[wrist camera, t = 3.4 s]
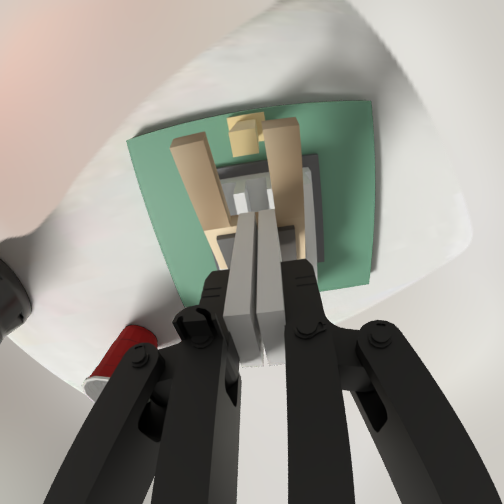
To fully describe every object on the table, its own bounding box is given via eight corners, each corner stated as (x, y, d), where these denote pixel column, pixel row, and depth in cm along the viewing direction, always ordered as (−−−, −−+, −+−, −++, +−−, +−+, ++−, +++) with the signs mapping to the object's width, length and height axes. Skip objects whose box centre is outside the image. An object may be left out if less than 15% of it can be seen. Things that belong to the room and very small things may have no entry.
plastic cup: (186, 356, 40) (173, 423, 30) (133, 359, 42) (113, 418, 31) (153, 307, 34) (126, 382, 24) (97, 315, 36) (66, 378, 26)
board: (186, 298, 33) (170, 358, 25) (132, 137, 23) (79, 163, 15) (365, 276, 31) (391, 333, 23) (364, 100, 21) (417, 108, 13)
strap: (252, 329, 26) (252, 340, 26) (173, 138, 10) (167, 152, 10) (303, 324, 26) (305, 334, 25) (295, 116, 10) (300, 128, 9)
